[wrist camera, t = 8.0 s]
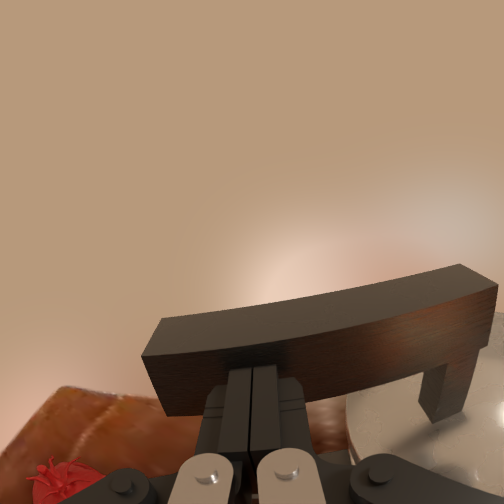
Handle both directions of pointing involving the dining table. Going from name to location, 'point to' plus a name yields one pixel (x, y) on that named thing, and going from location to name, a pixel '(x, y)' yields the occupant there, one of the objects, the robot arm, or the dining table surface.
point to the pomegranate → (62, 481)
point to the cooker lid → (365, 365)
